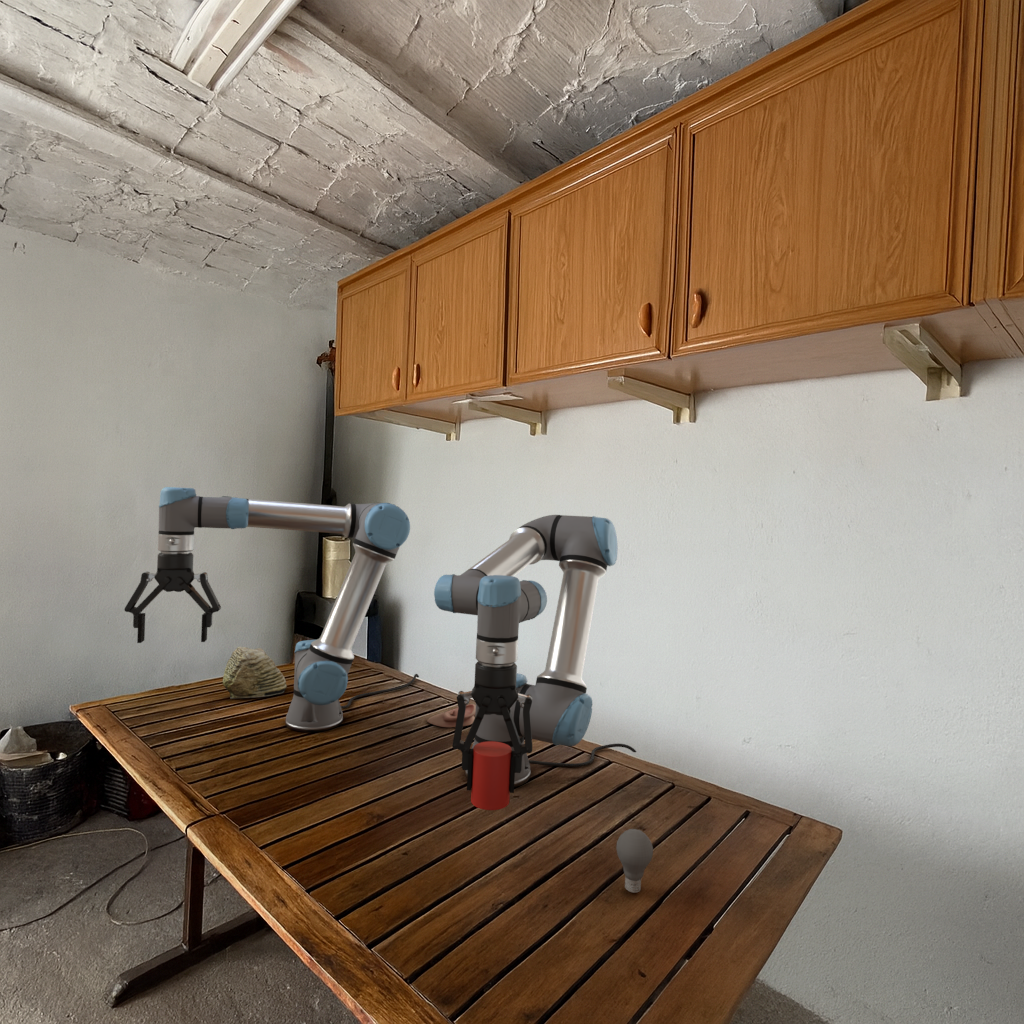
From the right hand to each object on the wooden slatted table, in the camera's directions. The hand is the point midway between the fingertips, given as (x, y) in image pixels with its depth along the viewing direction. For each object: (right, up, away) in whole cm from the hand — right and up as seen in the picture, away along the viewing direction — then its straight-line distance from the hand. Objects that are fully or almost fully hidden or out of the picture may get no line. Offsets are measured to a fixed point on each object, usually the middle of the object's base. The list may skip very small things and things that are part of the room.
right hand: (490, 788), depth 114 cm
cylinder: (0, -2, 0) cm, 2 cm away
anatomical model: (-13, -10, +68) cm, 70 cm away
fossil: (-77, -7, +84) cm, 114 cm away
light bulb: (+24, -13, -9) cm, 29 cm away
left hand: (-77, +19, +36) cm, 87 cm away
